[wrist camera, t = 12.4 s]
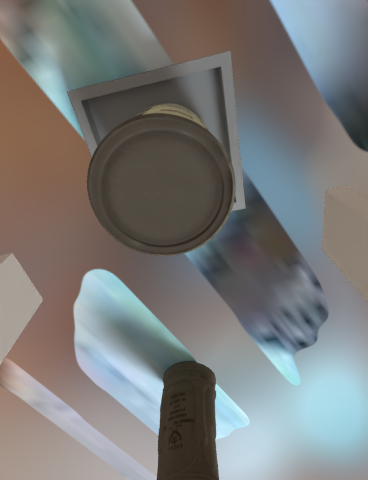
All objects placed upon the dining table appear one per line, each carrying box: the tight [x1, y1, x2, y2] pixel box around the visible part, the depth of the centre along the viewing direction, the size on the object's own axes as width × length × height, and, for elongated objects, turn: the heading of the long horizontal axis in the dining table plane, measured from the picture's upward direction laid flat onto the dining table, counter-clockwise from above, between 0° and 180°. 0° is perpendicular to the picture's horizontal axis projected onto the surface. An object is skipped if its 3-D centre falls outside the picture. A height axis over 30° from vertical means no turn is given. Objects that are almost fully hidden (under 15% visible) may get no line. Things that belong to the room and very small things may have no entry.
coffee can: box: [87, 103, 236, 256], centre depth 24 cm, size 10×10×14 cm
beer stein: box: [157, 362, 219, 480], centre depth 46 cm, size 15×11×20 cm
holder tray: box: [67, 51, 245, 211], centre depth 30 cm, size 16×16×3 cm
